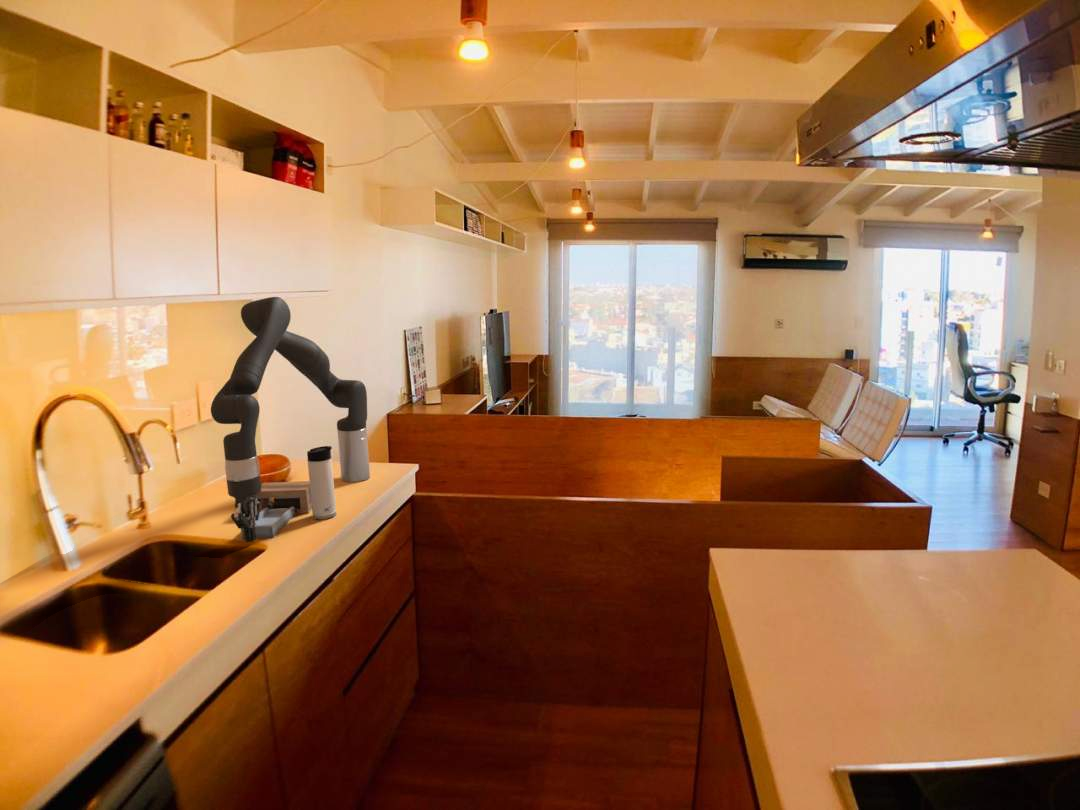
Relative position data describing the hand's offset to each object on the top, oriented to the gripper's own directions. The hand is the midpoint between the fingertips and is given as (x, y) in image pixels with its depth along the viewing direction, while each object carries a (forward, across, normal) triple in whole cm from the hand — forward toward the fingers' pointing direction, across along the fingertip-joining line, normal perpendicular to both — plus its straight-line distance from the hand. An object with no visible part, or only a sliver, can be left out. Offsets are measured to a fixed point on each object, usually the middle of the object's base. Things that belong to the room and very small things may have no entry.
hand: (250, 540), depth 159 cm
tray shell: (+1, -12, 0) cm, 12 cm away
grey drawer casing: (+1, -25, 0) cm, 25 cm away
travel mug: (+1, -18, +13) cm, 23 cm away
